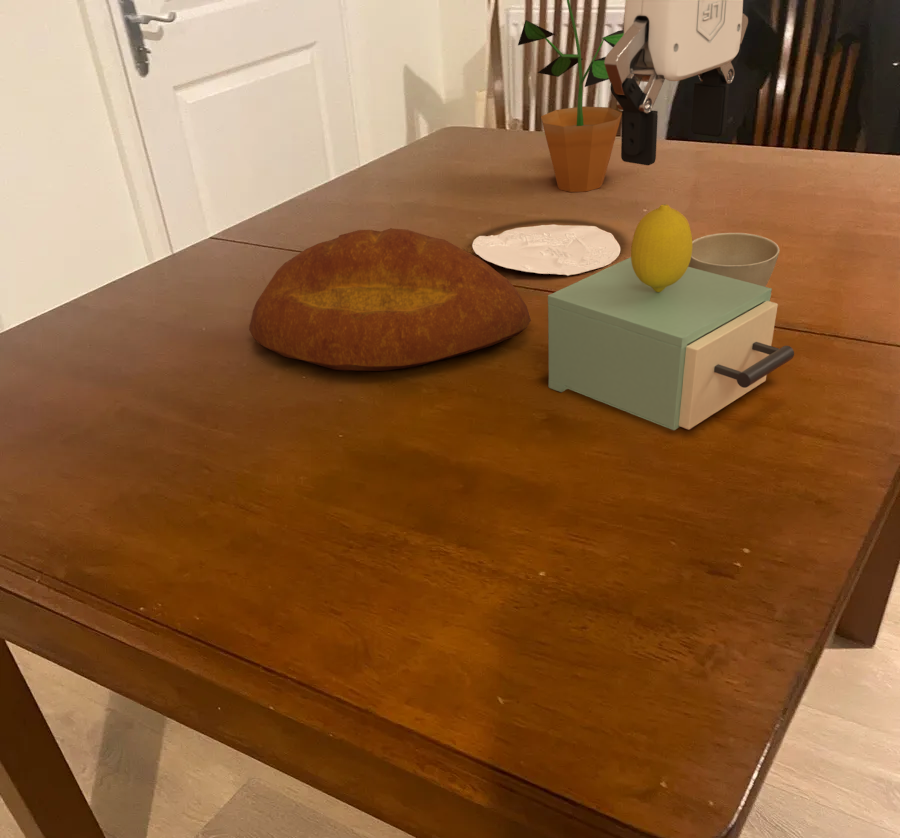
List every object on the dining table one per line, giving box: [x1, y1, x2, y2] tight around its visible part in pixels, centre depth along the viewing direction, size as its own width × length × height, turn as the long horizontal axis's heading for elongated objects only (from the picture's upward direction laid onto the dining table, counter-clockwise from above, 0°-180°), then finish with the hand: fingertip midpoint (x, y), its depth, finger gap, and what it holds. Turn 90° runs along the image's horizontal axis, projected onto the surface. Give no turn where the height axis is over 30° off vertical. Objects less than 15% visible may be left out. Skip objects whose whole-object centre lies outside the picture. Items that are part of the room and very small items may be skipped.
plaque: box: [472, 223, 621, 277], centre depth 125 cm, size 20×20×2 cm
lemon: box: [630, 203, 693, 292], centre depth 85 cm, size 6×6×8 cm
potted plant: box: [517, 0, 624, 193], centre depth 137 cm, size 18×19×30 cm
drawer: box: [679, 300, 795, 431], centre depth 88 cm, size 18×13×8 cm
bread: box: [248, 227, 532, 372], centre depth 103 cm, size 21×33×12 cm, turn 80°
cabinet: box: [547, 256, 773, 431], centre depth 90 cm, size 16×14×10 cm
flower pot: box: [688, 232, 780, 287], centre depth 104 cm, size 10×10×7 cm
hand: (673, 148), depth 79 cm, fingers open, 9 cm apart
